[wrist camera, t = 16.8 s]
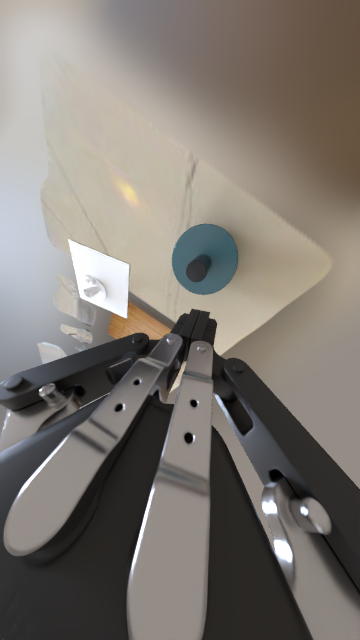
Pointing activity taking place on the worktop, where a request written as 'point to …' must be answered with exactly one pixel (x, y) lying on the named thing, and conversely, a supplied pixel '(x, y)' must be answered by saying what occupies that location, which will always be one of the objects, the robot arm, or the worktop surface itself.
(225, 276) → the lid
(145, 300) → the worktop surface
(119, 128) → the worktop surface
